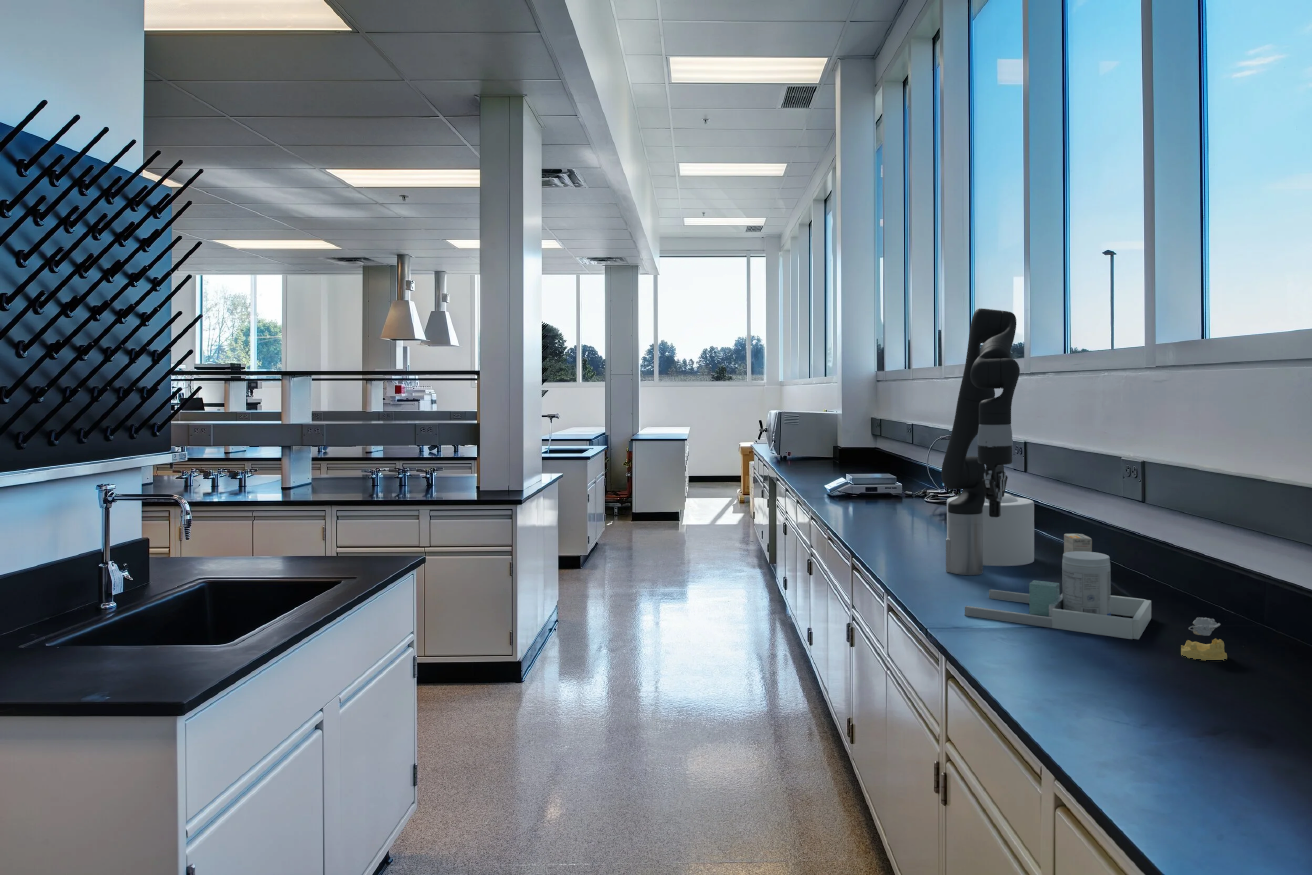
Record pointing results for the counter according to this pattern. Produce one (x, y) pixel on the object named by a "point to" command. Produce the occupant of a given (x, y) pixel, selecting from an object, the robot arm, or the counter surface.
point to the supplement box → (1077, 543)
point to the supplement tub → (1086, 582)
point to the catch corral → (1108, 619)
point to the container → (1008, 532)
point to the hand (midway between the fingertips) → (994, 516)
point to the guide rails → (1008, 615)
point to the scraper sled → (1044, 597)
